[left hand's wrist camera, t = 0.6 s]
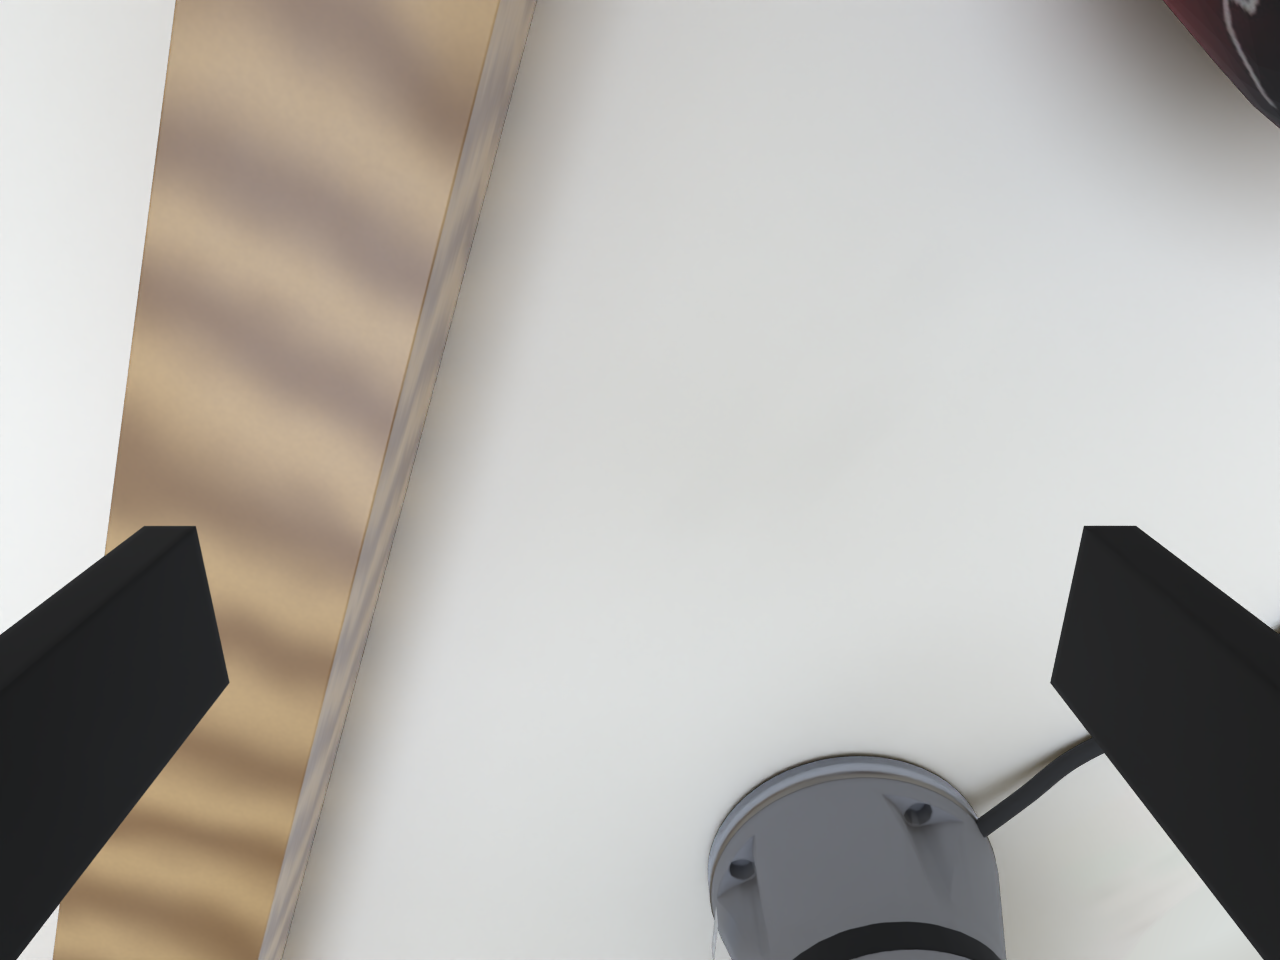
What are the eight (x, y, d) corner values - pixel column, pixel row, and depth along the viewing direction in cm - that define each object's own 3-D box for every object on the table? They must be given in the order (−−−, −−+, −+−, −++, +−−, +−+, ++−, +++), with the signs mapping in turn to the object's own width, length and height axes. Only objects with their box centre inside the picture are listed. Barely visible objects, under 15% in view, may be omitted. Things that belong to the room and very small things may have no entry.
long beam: (339, -385, 27) (245, -553, 21) (608, -268, 28) (598, -392, 22) (88, 1125, 54) (14, 1255, 48) (229, 1154, 55) (175, 1285, 49)
